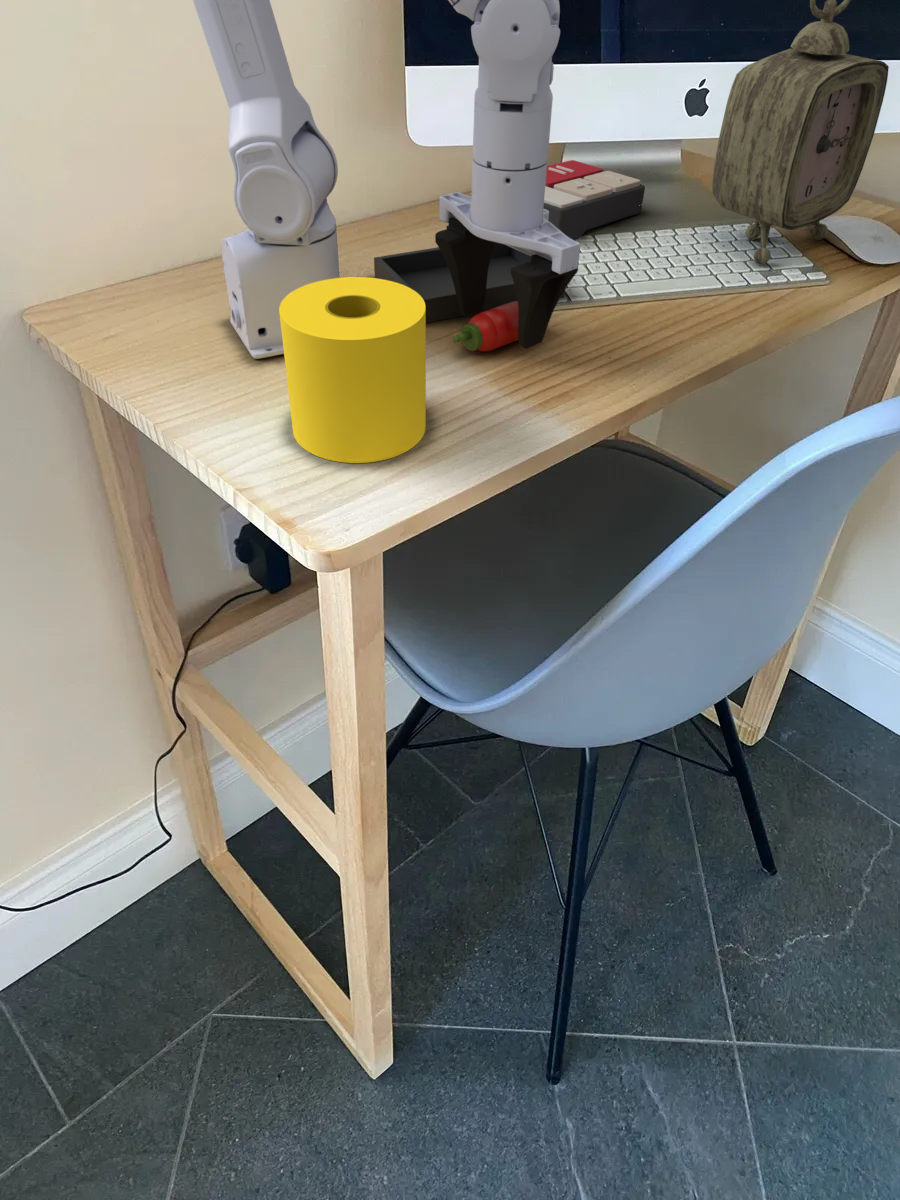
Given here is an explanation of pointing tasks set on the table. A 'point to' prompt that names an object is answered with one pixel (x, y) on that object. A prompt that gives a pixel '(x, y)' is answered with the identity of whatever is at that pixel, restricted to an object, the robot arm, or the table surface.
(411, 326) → the yellow toilet paper roll
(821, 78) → the tabletop clock
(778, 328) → the table surface
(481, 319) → the chili
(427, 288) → the tray
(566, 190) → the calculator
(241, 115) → the robot arm
